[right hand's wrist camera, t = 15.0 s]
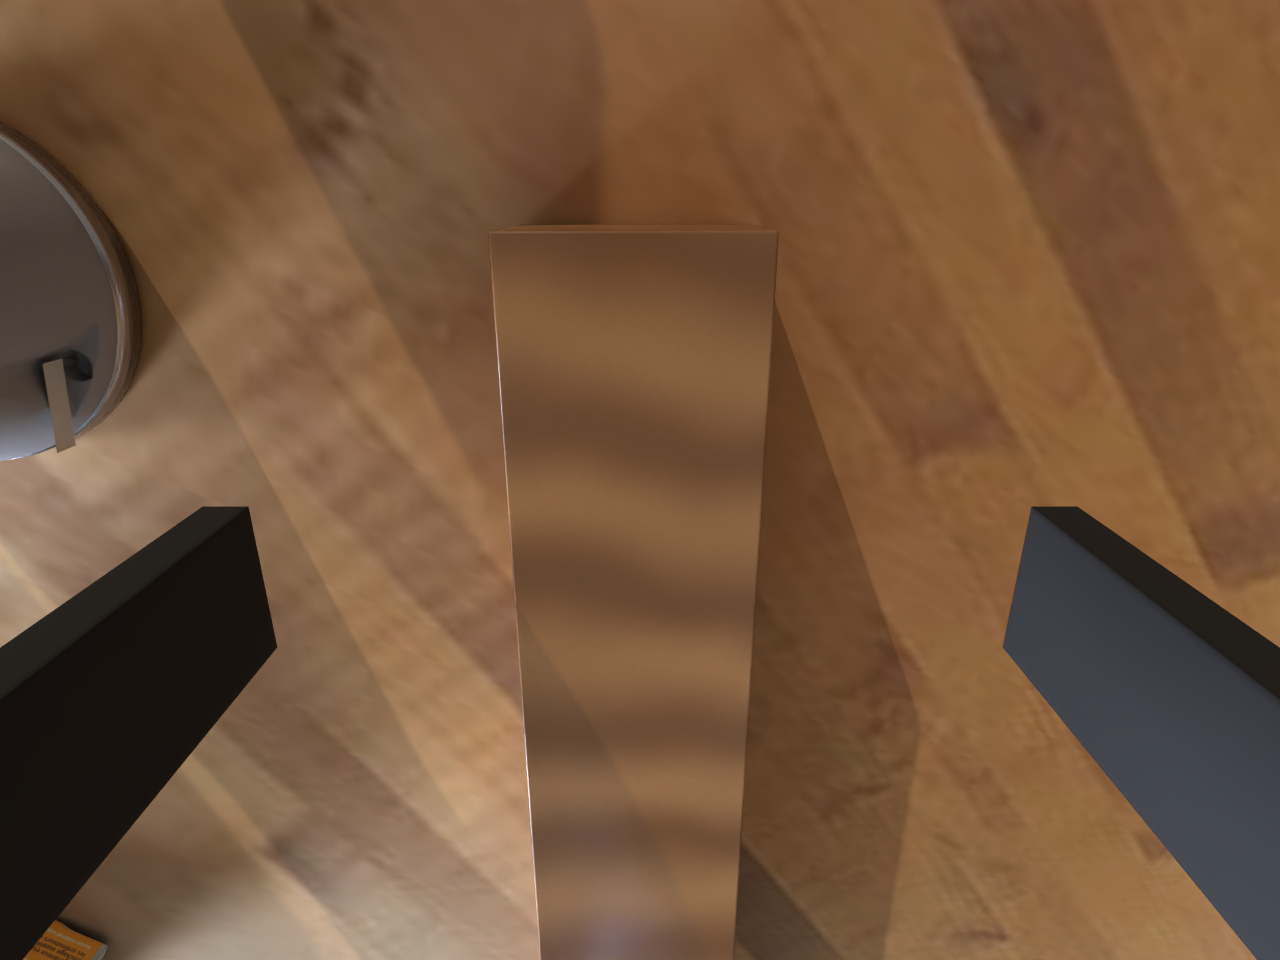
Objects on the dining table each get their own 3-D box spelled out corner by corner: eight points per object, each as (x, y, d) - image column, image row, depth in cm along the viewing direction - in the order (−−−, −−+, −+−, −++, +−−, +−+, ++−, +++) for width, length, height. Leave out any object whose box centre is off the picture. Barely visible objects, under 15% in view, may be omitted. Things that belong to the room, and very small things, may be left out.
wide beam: (520, 224, 32) (487, 230, 25) (749, 224, 32) (779, 230, 25) (573, 1174, 57) (564, 1307, 50) (703, 1174, 57) (712, 1307, 50)
